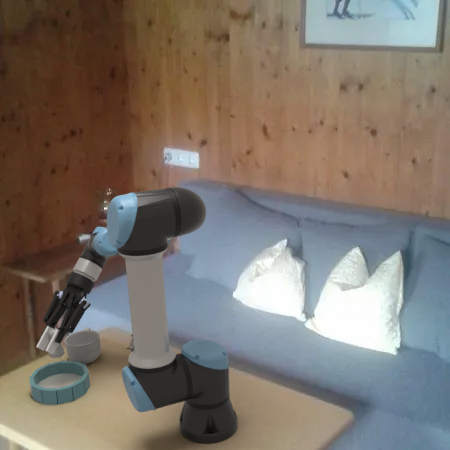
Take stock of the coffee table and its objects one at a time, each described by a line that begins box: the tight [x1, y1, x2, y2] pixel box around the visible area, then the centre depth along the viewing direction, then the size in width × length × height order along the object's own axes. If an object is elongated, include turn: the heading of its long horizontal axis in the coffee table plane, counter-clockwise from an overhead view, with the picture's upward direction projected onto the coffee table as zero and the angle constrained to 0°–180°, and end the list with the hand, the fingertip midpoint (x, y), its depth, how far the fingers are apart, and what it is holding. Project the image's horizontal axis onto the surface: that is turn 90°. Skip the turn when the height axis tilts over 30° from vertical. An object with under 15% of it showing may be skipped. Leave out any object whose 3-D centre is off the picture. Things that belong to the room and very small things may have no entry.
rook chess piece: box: [48, 327, 65, 359], centre depth 189 cm, size 4×4×8 cm
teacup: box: [64, 327, 102, 365], centre depth 210 cm, size 14×11×8 cm
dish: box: [28, 360, 91, 406], centre depth 193 cm, size 16×16×4 cm
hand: (44, 350), depth 186 cm, fingers closed on rook chess piece, 3 cm apart
